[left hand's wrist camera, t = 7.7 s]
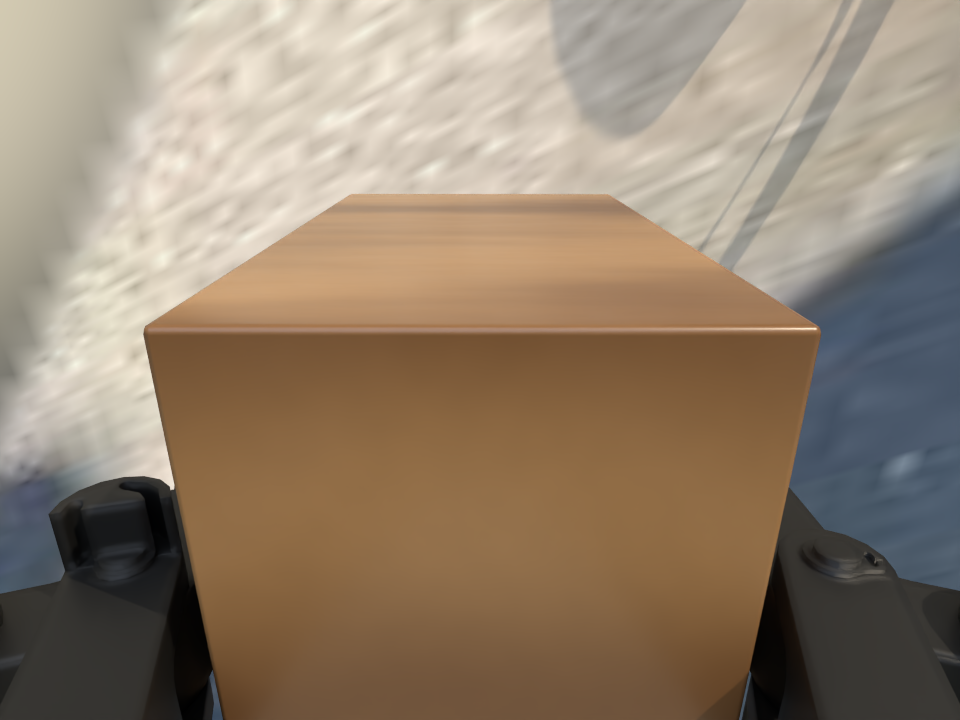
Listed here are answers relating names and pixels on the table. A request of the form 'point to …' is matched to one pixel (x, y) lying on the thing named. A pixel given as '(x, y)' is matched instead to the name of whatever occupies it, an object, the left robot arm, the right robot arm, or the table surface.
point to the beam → (481, 463)
